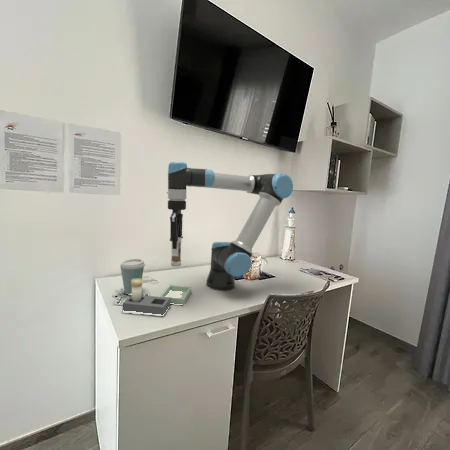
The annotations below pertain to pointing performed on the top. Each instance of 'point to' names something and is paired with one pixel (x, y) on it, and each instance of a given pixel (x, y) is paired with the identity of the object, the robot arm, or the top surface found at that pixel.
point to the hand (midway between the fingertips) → (176, 254)
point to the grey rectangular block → (148, 305)
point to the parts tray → (185, 294)
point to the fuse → (136, 289)
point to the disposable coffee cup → (131, 272)
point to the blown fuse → (177, 259)
